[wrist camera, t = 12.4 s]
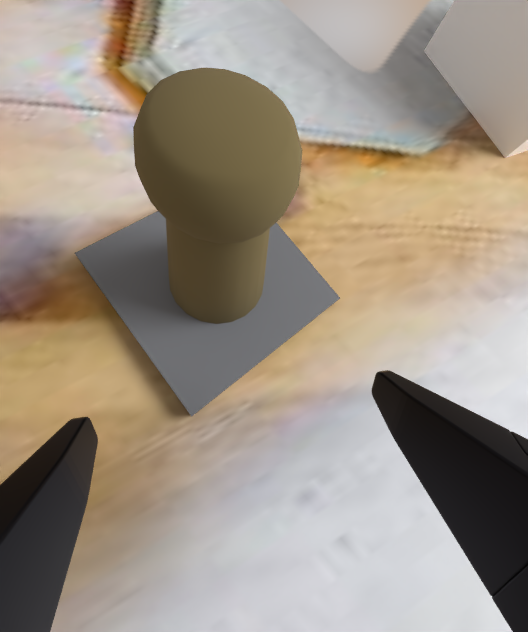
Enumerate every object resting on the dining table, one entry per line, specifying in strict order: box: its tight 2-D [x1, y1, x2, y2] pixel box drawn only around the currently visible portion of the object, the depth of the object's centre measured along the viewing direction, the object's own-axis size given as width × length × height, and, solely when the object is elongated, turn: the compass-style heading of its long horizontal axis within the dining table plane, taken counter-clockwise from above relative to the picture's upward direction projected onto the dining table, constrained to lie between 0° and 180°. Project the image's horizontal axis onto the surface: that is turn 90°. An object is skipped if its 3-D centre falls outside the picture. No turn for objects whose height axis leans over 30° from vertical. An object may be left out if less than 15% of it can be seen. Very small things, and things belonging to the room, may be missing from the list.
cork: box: [133, 68, 302, 324], centre depth 12 cm, size 6×6×11 cm
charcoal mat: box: [75, 211, 340, 416], centre depth 18 cm, size 12×12×1 cm
